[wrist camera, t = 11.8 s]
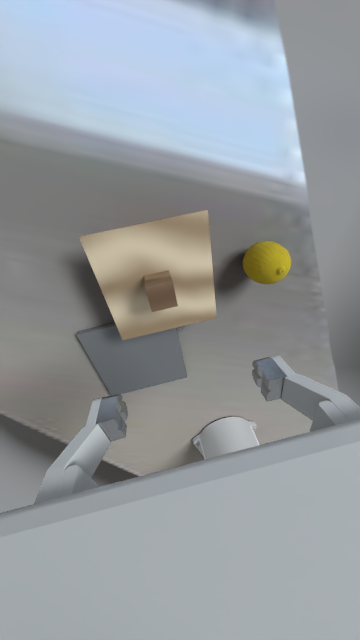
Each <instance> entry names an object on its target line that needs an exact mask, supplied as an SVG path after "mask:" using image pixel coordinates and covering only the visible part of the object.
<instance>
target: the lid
mask: <svg viewBox="0 0 360 640" xmlns="http://www.w3.org/2000/svg"><path fill="white" fill-rule="evenodd" d="M79 238H80V241H81V243H82V246H83V248H84V250H85V253H86V255H87V257H88V260H89V262H90V264H91V267H92V269H93V271H94V274H95V276H96V279H97V281H98V283H99V286H100V288H101V290H102V293H103V295H104V297H105V300H106V302H107V305H108V307H109V309H110V312H111V314H112V316H113V319H114V321H115V323H116V326H117V328H118V331H119V333H120V335H121V338H122V340H126V339H130V338H135V337H139V336H143V335H147V334H151V333H156V332H160V331H164V330H168V329H172V328H176V327H181V326H185V325H189V324H193V323H197V322H202V321H206V320H210V319H214V318H217V316H216V304H215V292H214V280H213V268H212V255H211V243H210V231H209V219H208V210H204V211H199V212H194V213H189V214H184V215H180V216H175V217H170V218H165V219H161V220H156V221H151V222H146V223H142V224H137V225H132V226H127V227H122V228H118V229H113V230H108V231H103V232H99V233H94V234H89V235H84V236H80V237H79Z"/></svg>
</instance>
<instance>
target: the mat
mask: <svg viewBox="0 0 360 640" xmlns="http://www.w3.org/2000/svg"><path fill="white" fill-rule="evenodd" d="M76 335H77V337H78V339H79V341H80V342H81V344H82V346H83V347H84V349H85V351H86V353H87V354H88V356H89V358H90V360H91V361H92V363H93V365H94V366H95V368H96V370H97V372H98V373H99V375H100V377H101V379H102V380H103V382H104V384H105V385H106V387H107V389H108V391H109V392H110V394H111V396H112V395H116V394H123V393H127V392H131V391H134V390H138V389H142V388H146V387H150V386H154V385H158V384H162V383H166V382H170V381H174V380H178V379H182V378H186V377H187V374H186V369H185V365H184V360H183V356H182V352H181V347H180V343H179V338H178V334H177V329H176V328H172V329H168V330H164V331H160V332H156V333H151V334H147V335H143V336H139V337H135V338H130V339H126V340H122V338H121V335H120V333H119V331H118V328H117V326H116V323H112V324H108V325H103V326H99V327H95V328H91V329H86V330H82V331H78V332H77V334H76Z"/></svg>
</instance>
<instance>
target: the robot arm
mask: <svg viewBox="0 0 360 640" xmlns="http://www.w3.org/2000/svg"><path fill="white" fill-rule="evenodd" d="M253 367H254V369H253V371H252V375H253V379H254V381H255V383H256V385H257V386H258V387H260V388H261V393H262V395H263V396H264V398H265V399H266V401H272V400H276V399H282V400H283V401H285V402H286V403H287V404H289V405H290V406H292V407H293V408H295V409H296V410H298V411H299V412H301V413H302V414H304V415H305V416H307V417H308V418H310V419H311V420H313V422H312V425H311V428H310V432H308V433H304V434H300V435H296V436H293V437H289V438H285V439H281V440H277V441H274V442H270V443H266V444H262V445H259V443H258V441H257V438H256V436H255V434H254V432H255V429H256V423H255V422H252V421H246V420H245V419H243V418H240V417H227V418H223V419H220V420H217V421H215V422H213V423H211V424H209V425H208V426H207V427H205V428H204V429H203V431H202V432H201V433H200V434H199V435H197V436H196V437H194V438H193V443H194V445H195V446H196V448H197V449H198V450H199V452H200V453H201V454H202V456H203V459H204V460H201V461H197V462H193V463H189V464H186V465H182V466H178V467H174V468H170V469H167V470H163V471H159V472H155V473H151V474H147V475H144V476H140V477H136V478H132V479H129V480H125V481H121V482H117V483H113V484H109V485H106V486H102V487H99V486H98V485H97V484H96V483H95V482H94V481H93V480H92V479H91V477H92V475H93V474H94V471H95V470H96V468H97V466H98V464H99V463H100V461H101V459H102V458H103V456H104V454H105V452H106V451H107V449H108V447H109V445H110V443H111V441H114V440H118V439H121V438H125V437H126V428H127V425H126V423H125V421H126V419H127V416H128V411H127V406H126V403H125V402H124V401H122V396H121V394H116V395H112V396H107V397H102V398H98V399H94V400H93V402H92V404H91V408H90V412H89V415H88V419H87V422H86V426H85V427H83V428H82V429H81V430H80V431H79V433H78V434H77V435H76V436H75V437H74V439H73V440H72V441H71V442H70V443H69V445H68V446H67V447H66V448H65V450H64V451H63V452H62V453H61V455H60V456H59V457H58V458H57V459H56V460H55V462H54V463H53V464H52V465H51V466H50V468H49V469H48V470H47V471H46V474H45V477H44V479H43V482H42V485H41V487H40V490H39V493H38V495H37V498H36V501H35V503H34V504H33V505H29V506H26V507H22V508H18V509H14V510H10V511H7V512H2V513H0V640H360V408H359V407H358V406H357V405H356V404H355V403H354V402H353V401H352V400H351V399H350V398H349V397H348V396H347V395H345V394H343V393H341V392H339V391H336V390H334V389H332V388H330V387H327V386H325V385H323V384H321V383H318V382H316V381H314V380H311V379H309V378H307V377H305V376H302V375H300V374H295V372H294V371H293V370H292V369H291V368H290V367H289V366H288V365H287V364H286V362H285V361H284V360H283V359H282V358H281V357H280V356H279V355H275V356H271V357H267V358H263V359H259V360H255V361H253Z"/></svg>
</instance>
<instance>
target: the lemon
mask: <svg viewBox="0 0 360 640" xmlns="http://www.w3.org/2000/svg"><path fill="white" fill-rule="evenodd" d="M290 266H291V258H290V255H289V253H288V252H287V250H286V249H285V248H284V247H282V246H281V245H280V244H278V243H275V242H271V241H263V242H259V243H256V244H254V245H253V246H251V247H250V248H249V249H248V250H247V252H246V253H245V255H244V258H243V268H244V271H245V273H246V274H247V276H248V277H249V278H251V279H252V280H253V281H255V282H258V283H261V284H273V283H276V282H278V281H280V280H282V279H283V278H284V277H285V276H286V275H287V273H288V272H289V269H290Z"/></svg>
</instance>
